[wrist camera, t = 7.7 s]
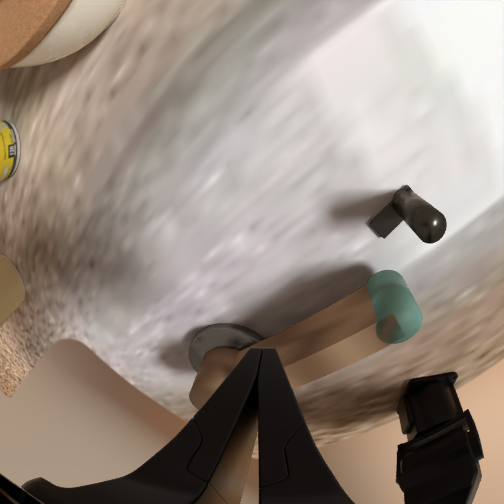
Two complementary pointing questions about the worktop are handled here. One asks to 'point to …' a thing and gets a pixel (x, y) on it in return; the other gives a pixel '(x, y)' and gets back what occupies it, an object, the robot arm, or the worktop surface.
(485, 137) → the worktop surface
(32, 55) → the lidded bowl
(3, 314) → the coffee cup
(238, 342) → the dark grey pieces
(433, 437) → the robot arm
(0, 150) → the pill bottle
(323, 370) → the capstan lever
